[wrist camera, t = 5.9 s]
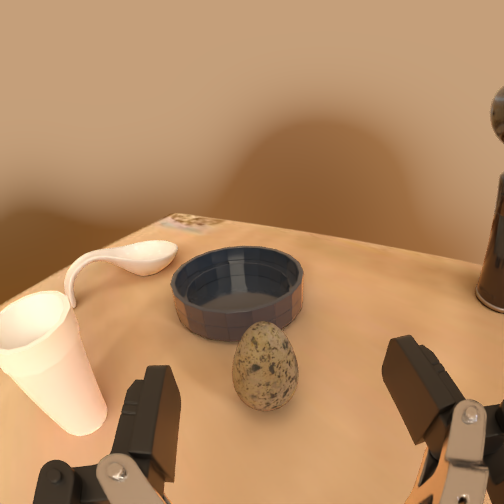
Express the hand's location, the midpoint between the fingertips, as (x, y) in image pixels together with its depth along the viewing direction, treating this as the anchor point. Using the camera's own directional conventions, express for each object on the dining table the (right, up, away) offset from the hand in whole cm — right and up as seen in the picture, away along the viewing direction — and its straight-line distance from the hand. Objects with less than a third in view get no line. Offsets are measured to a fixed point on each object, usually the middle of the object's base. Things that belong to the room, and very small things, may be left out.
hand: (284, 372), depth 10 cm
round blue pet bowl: (-3, -3, +33) cm, 34 cm away
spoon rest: (-25, -1, +42) cm, 48 cm away
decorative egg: (0, -11, +17) cm, 20 cm away
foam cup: (-19, -13, +15) cm, 28 cm away
